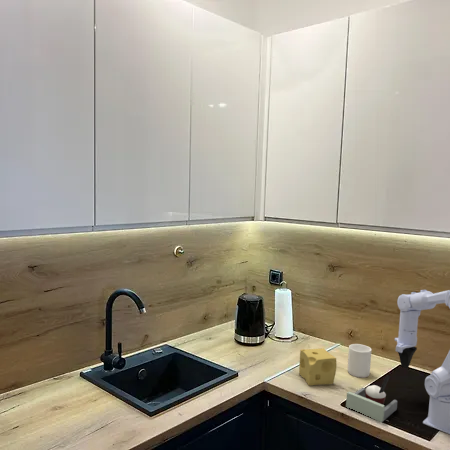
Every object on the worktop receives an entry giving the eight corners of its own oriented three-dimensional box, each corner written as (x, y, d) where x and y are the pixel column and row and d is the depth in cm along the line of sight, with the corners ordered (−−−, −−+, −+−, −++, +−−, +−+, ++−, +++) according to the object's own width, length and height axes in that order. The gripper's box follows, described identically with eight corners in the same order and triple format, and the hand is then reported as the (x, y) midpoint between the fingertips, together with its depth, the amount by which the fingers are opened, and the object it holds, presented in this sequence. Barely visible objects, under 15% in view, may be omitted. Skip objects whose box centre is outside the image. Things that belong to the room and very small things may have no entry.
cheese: (308, 386, 154) (310, 359, 153) (297, 373, 164) (299, 348, 163) (335, 384, 156) (337, 358, 155) (322, 371, 166) (324, 346, 165)
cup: (352, 378, 162) (354, 352, 161) (340, 364, 174) (341, 340, 173) (373, 377, 163) (375, 351, 162) (359, 364, 175) (361, 340, 174)
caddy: (396, 409, 140) (397, 394, 139) (381, 422, 132) (382, 406, 131) (362, 395, 148) (363, 382, 148) (345, 407, 140) (346, 392, 139)
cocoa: (361, 399, 147) (361, 364, 146) (379, 398, 147) (379, 364, 146) (372, 412, 137) (372, 376, 137) (391, 412, 138) (392, 375, 137)
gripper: (404, 321, 155) (401, 357, 156) (388, 330, 144) (384, 369, 146) (424, 326, 150) (421, 363, 152) (409, 336, 140) (406, 376, 141)
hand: (404, 367), depth 148 cm, fingers closed
